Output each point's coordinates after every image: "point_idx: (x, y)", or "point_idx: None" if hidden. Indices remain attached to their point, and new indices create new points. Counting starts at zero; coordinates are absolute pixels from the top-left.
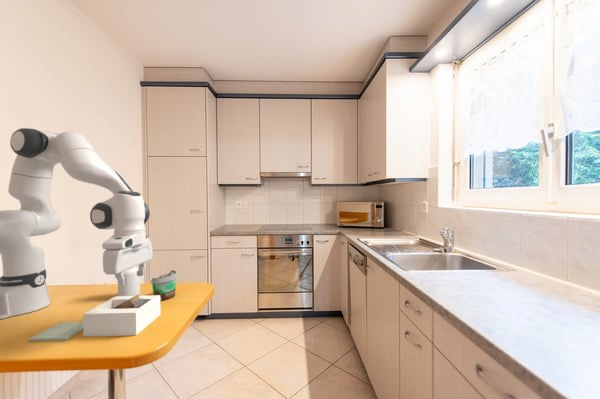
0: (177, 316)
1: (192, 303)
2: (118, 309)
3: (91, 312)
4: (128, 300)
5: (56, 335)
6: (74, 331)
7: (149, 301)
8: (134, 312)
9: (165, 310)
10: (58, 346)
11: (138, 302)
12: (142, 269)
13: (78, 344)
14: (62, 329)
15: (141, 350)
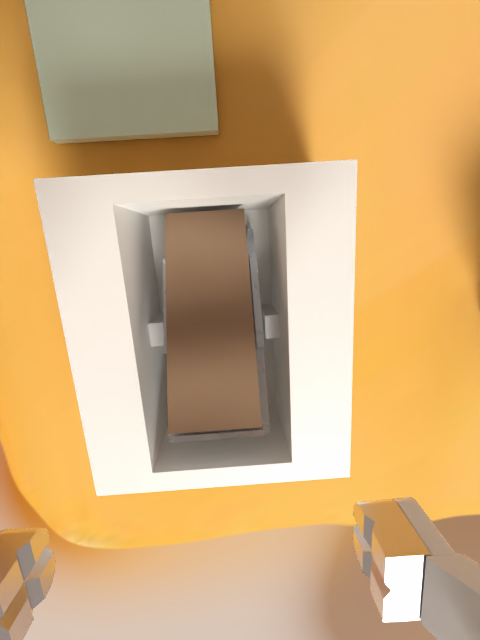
0: (293, 490)
1: (425, 488)
2: (125, 371)
3: (63, 222)
4: (168, 419)
5: (61, 52)
6: (110, 121)
7: (249, 474)
8: (97, 488)
9: (358, 409)
10: (9, 154)
11: (212, 439)
12: (436, 629)
13: (39, 238)
14: (122, 17)
15: (45, 503)
